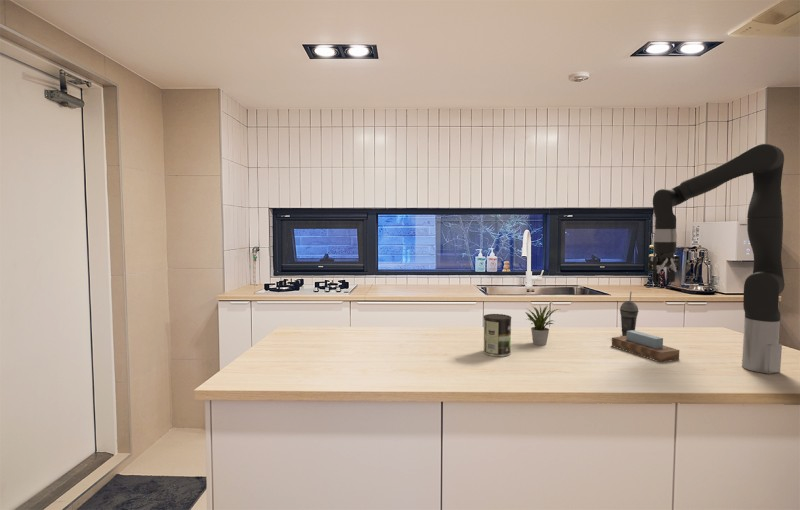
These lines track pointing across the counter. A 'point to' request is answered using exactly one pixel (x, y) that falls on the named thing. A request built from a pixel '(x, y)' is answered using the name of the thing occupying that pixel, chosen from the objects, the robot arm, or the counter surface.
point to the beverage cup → (628, 316)
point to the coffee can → (497, 335)
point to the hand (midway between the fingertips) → (663, 282)
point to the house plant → (540, 326)
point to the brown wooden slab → (646, 349)
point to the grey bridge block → (644, 339)
